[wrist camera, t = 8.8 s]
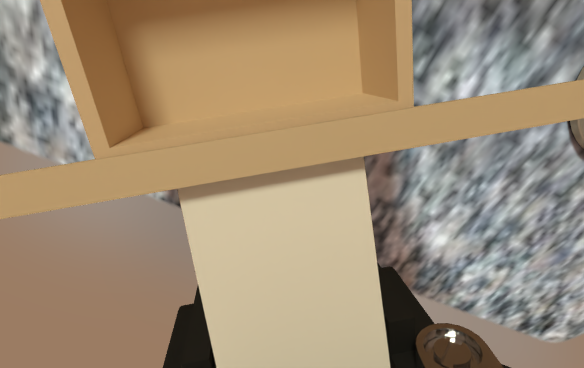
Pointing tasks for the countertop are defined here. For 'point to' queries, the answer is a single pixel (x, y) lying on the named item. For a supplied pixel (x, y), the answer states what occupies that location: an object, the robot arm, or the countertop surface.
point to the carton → (227, 66)
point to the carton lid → (287, 219)
